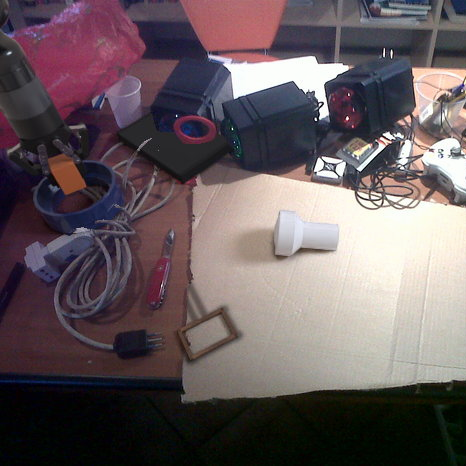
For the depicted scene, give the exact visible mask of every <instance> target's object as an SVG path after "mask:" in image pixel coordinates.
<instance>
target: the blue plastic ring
mask: <svg viewBox="0 0 466 466" xmlns="http://www.w3.org/2000/svg"><path fill="white" fill-rule="evenodd" d="M82 162H83V163H84V165H85V167H86V169H87V172H88V174H87V175H85V176H86V178H84V181H85V184H86V186H87V187H89V186H101V187H104V188H107V189H108V190H107V192H106V193H105V194H104V195H103V196H101V198H100V199H99V200H98V201H96V202H95V203H93V204H91V205H90V206H88V207H86V208H83V209H80V210H78V211H74V212H69V213H57V209H58V206H59V204H60V203H61V201H62V200H63V199H64V198H66V196H67V195H65V193H64V192H63V190H62V189H61V188H57V186H55V187H53V186H52V185H51V184H50V182H49V180H48V179H47V177H46V176H44V177H43V179H41V180H40V182H39V183H38V185H37V186H36V187H35V189H34V192H33V198H32V199H33V203H34V206H35V208H36V209H37V211H38V212H39V214H40V215H41V217H42V218H43V219H44V220H45V223H46V224H47V225H48V226H49V227H50V228H51V229H52V230H53V231H55V232H58V233H60V234H64V235H67V234H66V233H68V232H70V231H71V230H73V229H76V228H81V227H84V228H87V229H90V230H91V229H94V230H96V229H99V228H101V227H103V226H105V225H106V224H107V223H98V224H95V221H97V220H103V219H104V220H110V221H112V220H113V219H114V218H115V217H116V216H117V214H118V213H120V211H121V209H122V207H123V204H124V202H125V192H124V189H123V188H122V186H121V183H120V182H119V180H118V177H117V176H116V174H115V171H114V169H113V168H112V167H111V166H110V165H108V164H107V163H105V162H103V161H100V160H99V161H98V160H89V159H84V160H82ZM115 204H117V205H119V206H120V207H121V208H115V206H114V205H115Z"/></svg>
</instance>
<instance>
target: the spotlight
mask: <svg viewBox="0 0 466 466" xmlns="http://www.w3.org/2000/svg"><path fill="white" fill-rule="evenodd" d="M273 229H274V230H273V242H274V248H275V249H274V252H275V253H274V254H275V256H286V257H292V256H293V255H294V254H295V253H296V252H297V251H298V250H299V249H301V248H302V249H312V250H313V249H314V250H326V251H337V249H338V247H339V241H340V225H339V224H338V223H329V222H328V223H327V222H318V221H307V220H303V219H302V218H301V216H299V214H298V212H297V211H295V210H291V209H278V216H277V218H276V221H275V224H274V228H273Z"/></svg>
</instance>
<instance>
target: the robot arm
mask: <svg viewBox="0 0 466 466" xmlns="http://www.w3.org/2000/svg"><path fill="white" fill-rule="evenodd" d="M10 13H11V10H10V4H9V2H8V0H0V112H1V114H2V115H3V116H4V117H5V119H6V121H7V122H8V123H9V125H10V127H11V128H12V130H13V131H14V133H15V134H16V136H17V137H18V144H16V145H14V146H8V147H7V148H6V152H7V157H8V159H9V160H10V161H11V162H13V163H14V164H16V165H17V166H18V167H19V168H21V169H22V170H24V171H25V172H26V173H28V174H29V175H31V176H32V177H38V176H39V175H44V177H47V179H48V180H49V182H50V184H51V185H52V186H53V187H55V186H57V188H61V187H60V185H59V184H58V182H57V180H56V179H55V177H54V176H53V174H52V172H51V170H50V167H49V162H48V159H49V158H52V157H54V156H55V155H60V154H63V153H64V154H65V155H66V156H67V157H68V158H70V159H71V160H72V161H73V162H74V164H75V166H76V168H77V170H78V171H79V173H80V175H81V177H82V179H84V178H86V176H85V175H87V174H88V172H87V169H86V167H85V165H84V163H83V162H82V161H83V159H84V160H85V159H87V158H90V154H91V153H90V140H89V131H88V127H87V126H86V123H84V121H83V122H82V121H80V122H78V123H77V125H69V124H68V123H67V122H65V120H63V118H62V115H61V114H60V112H59V109H58V108H57V107H56V104H55V103H54V101H53V99H52V97H51V95H50V93H49V91H48V89H47V88H46V86H45V83H44V82H43V81H42V79H41V78H40V77H39V75H38V74H37V72H36V70H35V68H34V67H33V65H32V63H31V61H30V59H29V57H28V56H27V54H26V52H25V50H24V49H23V47H22V46H21V45H20V43H19V42H18V41H17V40H15V39H14V38H13V37H11V36H9V35H8V34H7V33H5V32H4V31H3V30H2V29H3V27H5V25H6V24H7V23H8V21H9V18H10V15H11V14H10ZM72 134H73V135H74V136H75V138H76V139H78V147H79V148H78V149H75V148H74V147H73V146H72V144H71V143H70V139H71V137H72ZM24 151H26V152H28V153H31V154H33V155H36V156H38V160H39V163H38V164H37V163H35V162H33V161H32V160H31V159H29V158H28V157H27V156H26V155H25V152H24Z"/></svg>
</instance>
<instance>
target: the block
mask: <svg viewBox="0 0 466 466" xmlns="http://www.w3.org/2000/svg"><path fill="white" fill-rule="evenodd" d="M48 162H49V167H50V170H51V172H52V174H53V176H54V177H55V179H56V180H57V182H58V184H59V185H60V187H61V189H62V190H63V192H64V193H65V195H66V196H67V195H70V194H73V193H75V192H77V191H80V190H83V189H85V188H88V186H86V184H85V181H84V179H82V177H81V175H80V173H79V171H78V170H77V168H76V166H75V164H74V162H73V161H72V160H71V159H70V158H68V157H67V156H66V155H65V154H64V153H59V154H57V155H54V156H51V157H49V158H48Z"/></svg>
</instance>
